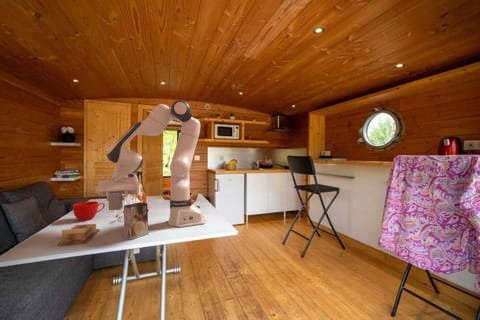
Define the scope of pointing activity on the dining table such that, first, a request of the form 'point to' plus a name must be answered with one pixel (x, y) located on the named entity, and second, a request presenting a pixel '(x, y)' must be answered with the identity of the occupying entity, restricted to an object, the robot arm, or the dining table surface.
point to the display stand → (78, 234)
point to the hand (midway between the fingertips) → (115, 200)
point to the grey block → (115, 201)
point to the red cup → (86, 210)
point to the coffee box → (135, 220)
